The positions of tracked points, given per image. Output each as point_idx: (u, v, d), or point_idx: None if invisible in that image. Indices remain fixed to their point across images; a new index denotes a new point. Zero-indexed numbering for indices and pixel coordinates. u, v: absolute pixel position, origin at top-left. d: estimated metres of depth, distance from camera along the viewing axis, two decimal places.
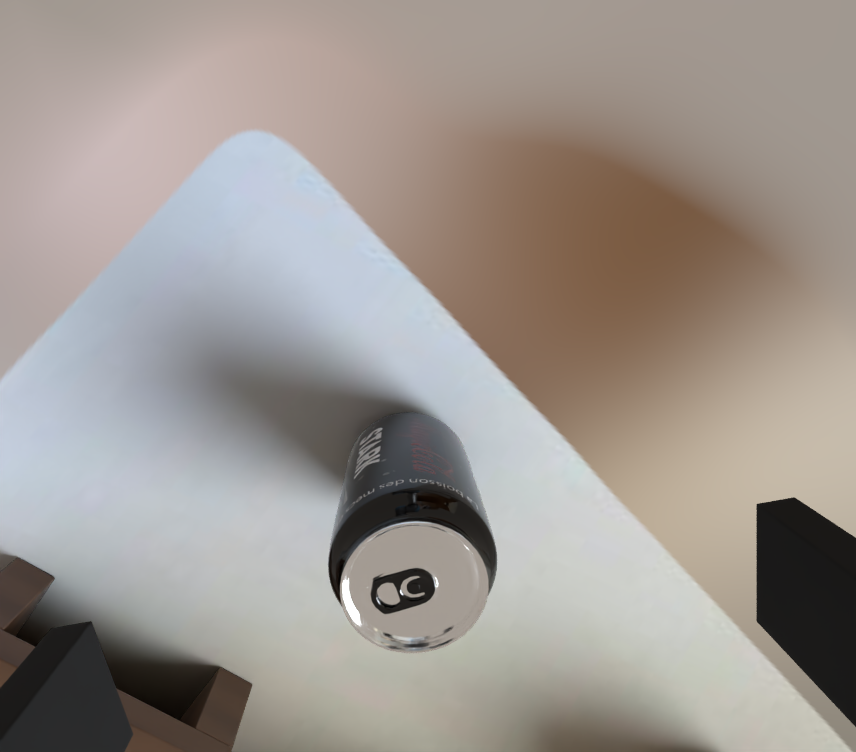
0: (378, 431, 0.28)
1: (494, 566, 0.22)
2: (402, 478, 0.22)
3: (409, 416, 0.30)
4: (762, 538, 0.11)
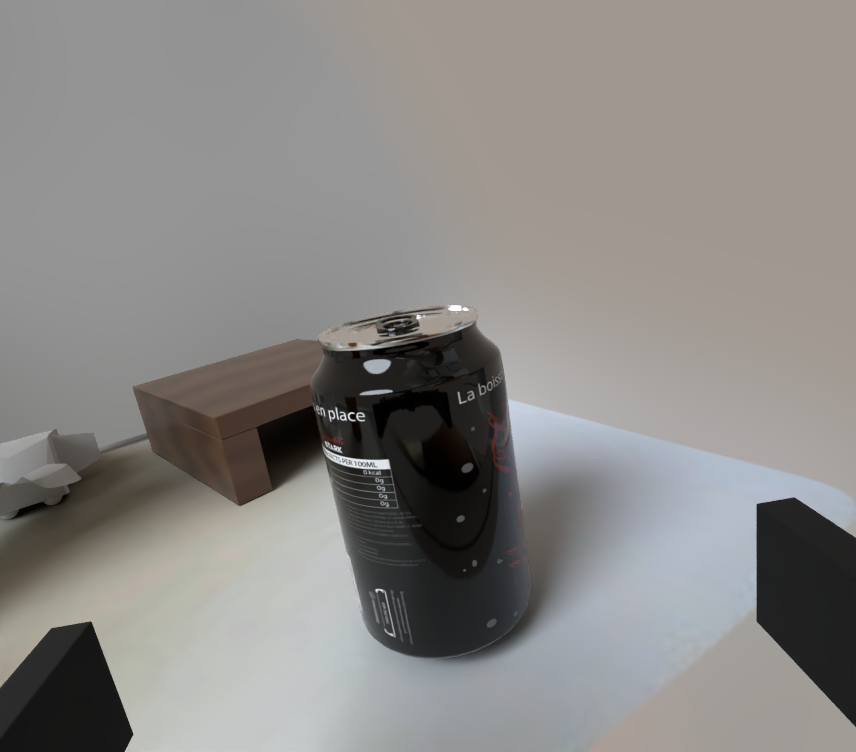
0: None
1: (380, 386, 0.16)
2: None
3: (529, 574, 0.21)
4: (762, 538, 0.11)
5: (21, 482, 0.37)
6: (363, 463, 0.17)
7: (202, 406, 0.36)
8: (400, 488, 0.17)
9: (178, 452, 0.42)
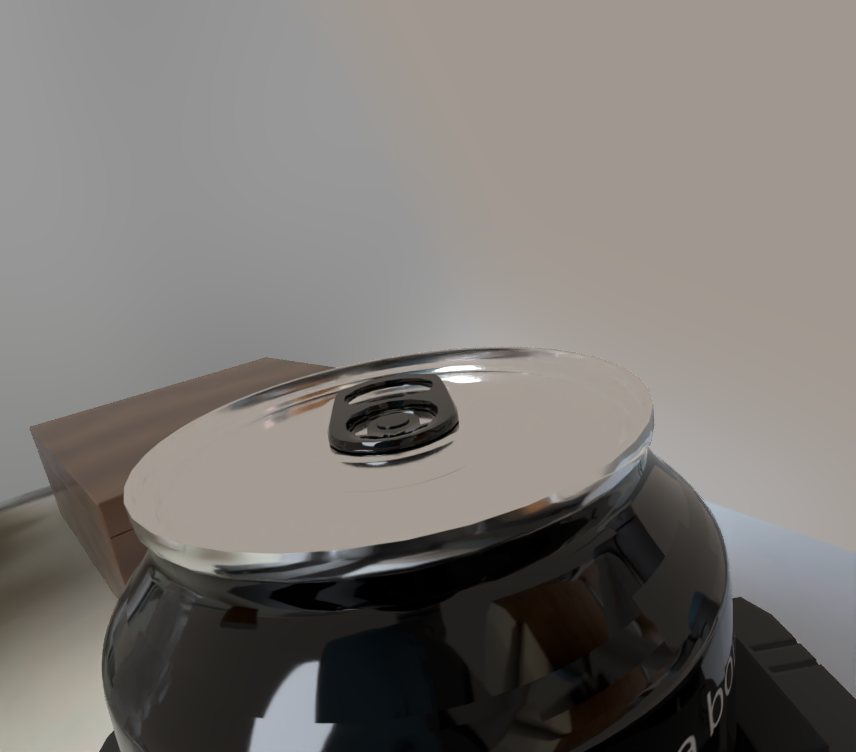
0: None
1: None
2: None
3: None
4: None
5: None
6: None
7: (93, 475, 0.24)
8: None
9: (78, 528, 0.29)
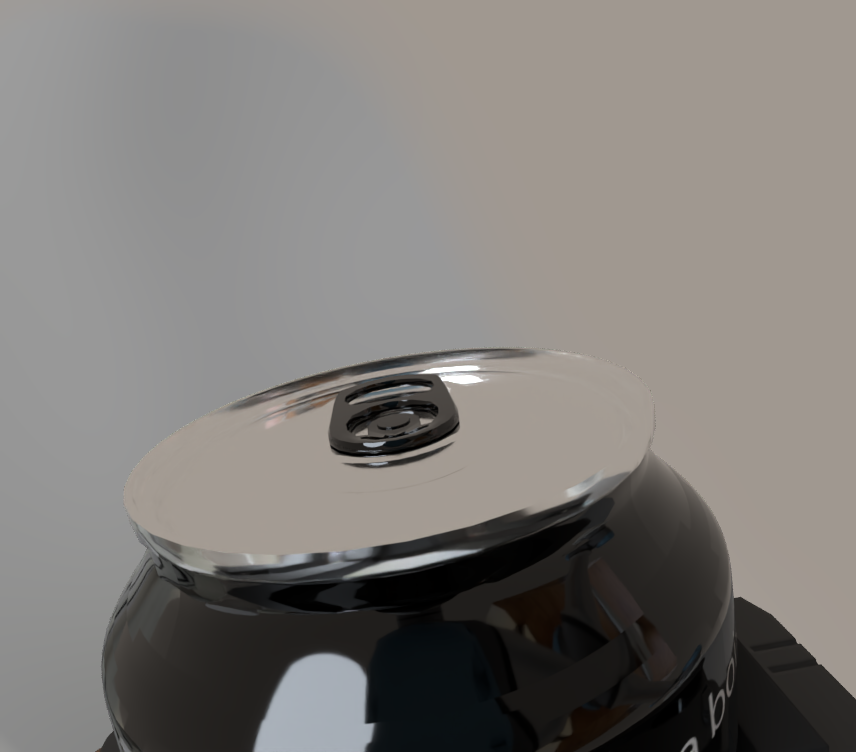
0: None
1: None
2: None
3: None
4: None
5: None
6: None
7: None
8: None
9: None
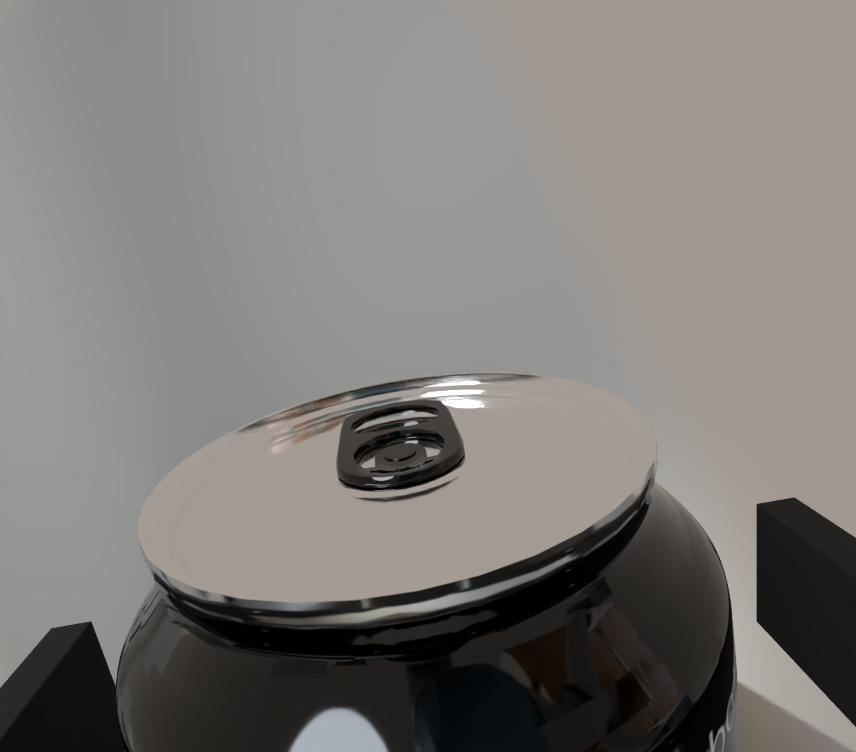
0: None
1: None
2: None
3: None
4: (762, 538, 0.11)
5: None
6: None
7: None
8: None
9: None
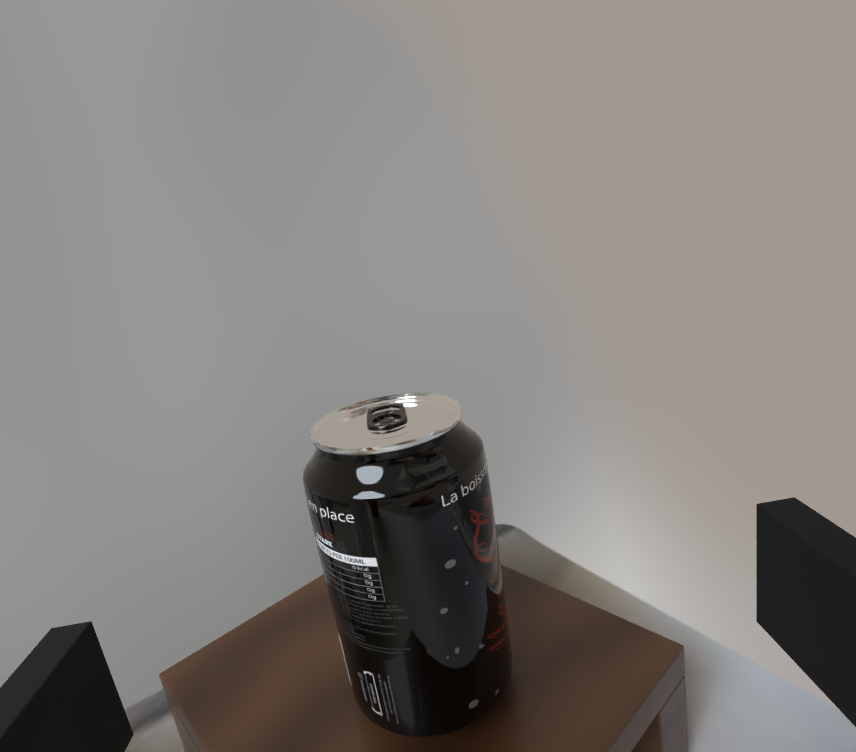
0: None
1: (368, 492, 0.18)
2: (487, 467, 0.21)
3: (510, 650, 0.22)
4: (762, 538, 0.11)
5: None
6: (352, 559, 0.18)
7: None
8: (386, 584, 0.18)
9: None
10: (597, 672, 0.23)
